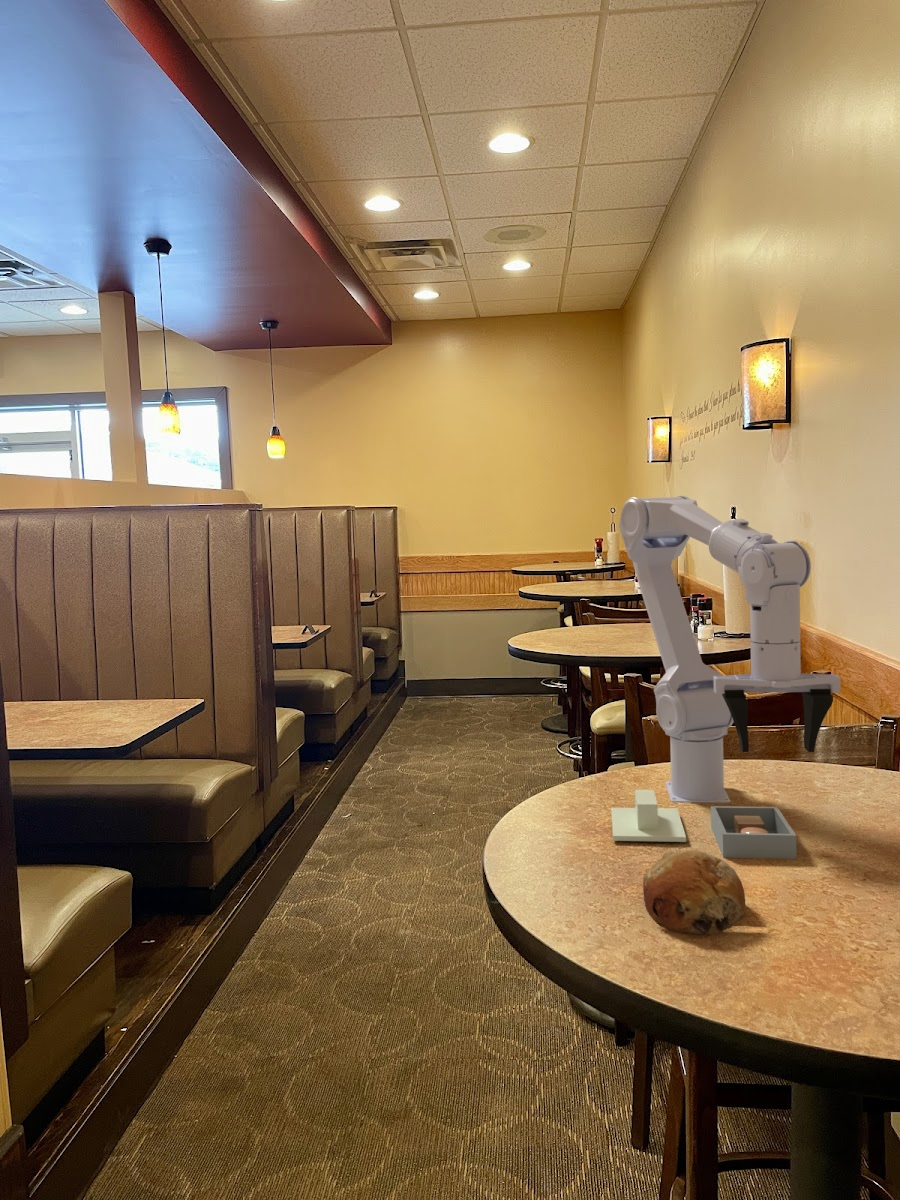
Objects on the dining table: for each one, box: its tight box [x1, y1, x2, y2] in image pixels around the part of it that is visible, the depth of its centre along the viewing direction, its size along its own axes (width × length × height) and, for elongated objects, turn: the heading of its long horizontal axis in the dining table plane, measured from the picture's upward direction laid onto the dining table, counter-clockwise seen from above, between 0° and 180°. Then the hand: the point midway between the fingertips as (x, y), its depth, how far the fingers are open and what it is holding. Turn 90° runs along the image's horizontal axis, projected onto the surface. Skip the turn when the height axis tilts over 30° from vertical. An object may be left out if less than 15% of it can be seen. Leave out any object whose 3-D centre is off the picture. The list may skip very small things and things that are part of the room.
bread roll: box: [642, 849, 746, 935], centre depth 85 cm, size 10×10×8 cm
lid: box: [610, 789, 687, 843], centre depth 108 cm, size 11×9×5 cm
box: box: [710, 805, 798, 860], centre depth 102 cm, size 10×8×3 cm
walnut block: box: [734, 816, 764, 833], centre depth 103 cm, size 3×3×2 cm
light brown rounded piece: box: [741, 827, 768, 833], centre depth 100 cm, size 3×3×2 cm
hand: (776, 750), depth 105 cm, fingers open, 7 cm apart
